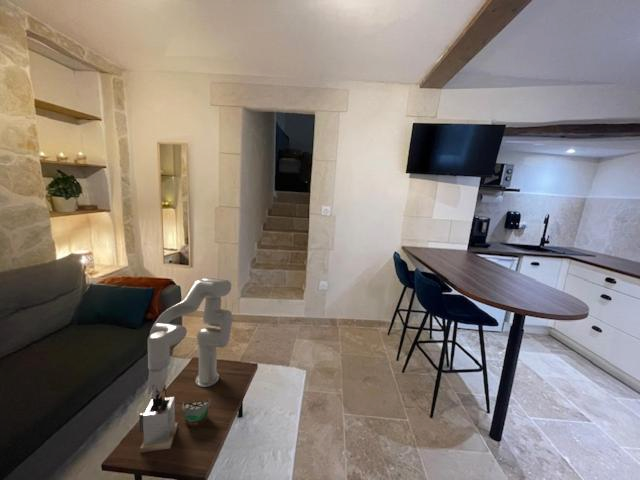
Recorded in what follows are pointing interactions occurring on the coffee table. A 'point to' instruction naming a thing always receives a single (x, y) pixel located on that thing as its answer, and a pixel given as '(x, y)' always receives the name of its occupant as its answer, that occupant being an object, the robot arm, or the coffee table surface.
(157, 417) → the press sleeve
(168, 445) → the base
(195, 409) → the food container
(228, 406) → the coffee table surface
